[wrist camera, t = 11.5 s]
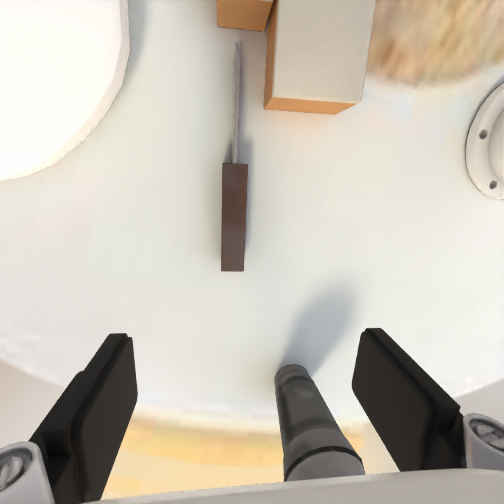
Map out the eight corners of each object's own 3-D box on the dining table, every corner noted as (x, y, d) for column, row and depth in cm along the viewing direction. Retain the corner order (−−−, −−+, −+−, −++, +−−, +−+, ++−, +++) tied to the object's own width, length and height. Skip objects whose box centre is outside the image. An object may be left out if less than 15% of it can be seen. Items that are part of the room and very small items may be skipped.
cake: (348, 13, 23) (380, -28, 18) (335, 114, 25) (361, 101, 21) (269, 3, 22) (281, -42, 18) (263, 109, 25) (273, 94, 20)
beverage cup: (293, 345, 33) (392, 588, 14) (330, 376, 35) (460, 625, 16) (252, 382, 34) (290, 656, 15) (290, 410, 36) (366, 683, 17)
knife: (249, 57, 23) (252, 42, 20) (241, 261, 29) (243, 271, 26) (223, 55, 23) (224, 39, 20) (221, 261, 29) (221, 271, 26)
